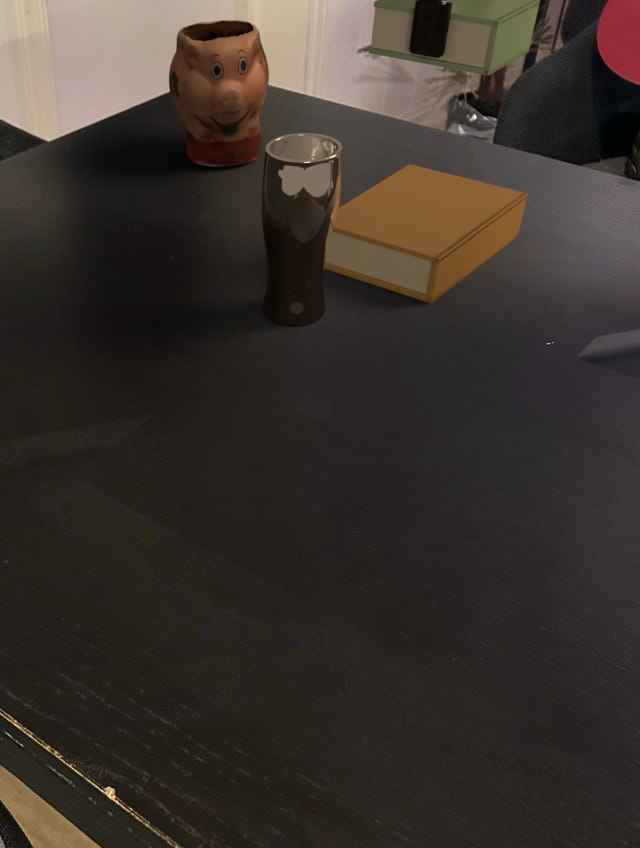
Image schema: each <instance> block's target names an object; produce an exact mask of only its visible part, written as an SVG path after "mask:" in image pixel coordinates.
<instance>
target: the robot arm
mask: <svg viewBox="0 0 640 848" xmlns="http://www.w3.org/2000/svg"><path fill="white" fill-rule="evenodd" d="M415 1H416V2H415V9H414V16H413V24H412V31H411V38H410V46H409V51H410V52H411V53H412V54H417V55H422V56H428V57H433V58H439V57H441V56H443V55H444V52H445V46H446V40H447V34H448V28H449V22H450V15H451V9H452V3H450V2H447V1H448V0H415Z"/></svg>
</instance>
